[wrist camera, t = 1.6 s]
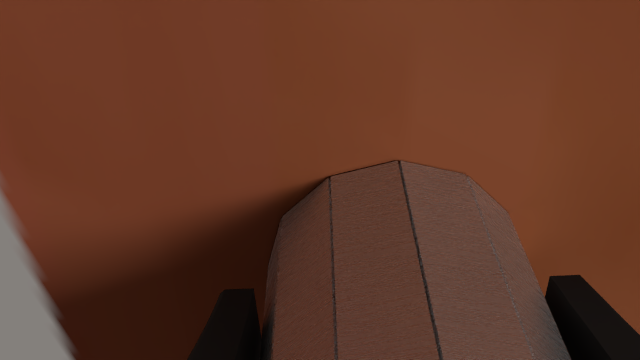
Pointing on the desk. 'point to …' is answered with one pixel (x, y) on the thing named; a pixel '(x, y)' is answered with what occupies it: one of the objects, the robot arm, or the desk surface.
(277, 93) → the desk surface
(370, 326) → the collar
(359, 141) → the desk surface
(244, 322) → the robot arm
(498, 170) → the desk surface
